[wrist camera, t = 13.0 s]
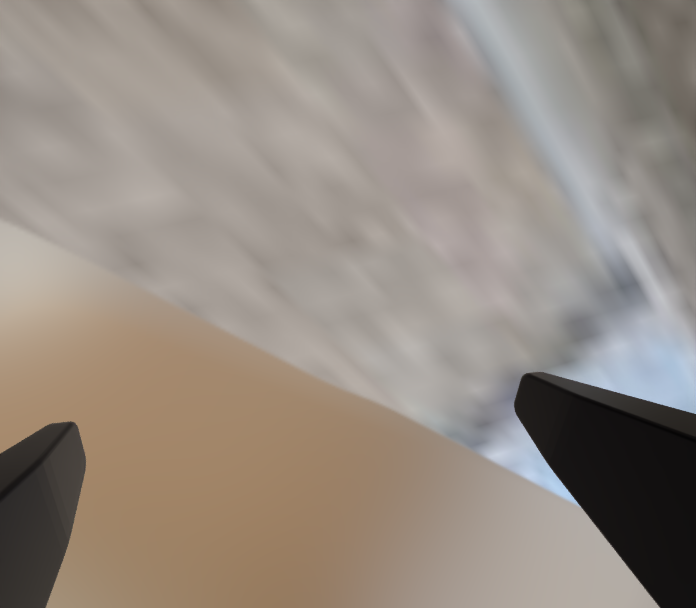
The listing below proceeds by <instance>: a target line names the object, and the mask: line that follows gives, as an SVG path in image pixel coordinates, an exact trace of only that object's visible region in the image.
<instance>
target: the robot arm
mask: <svg viewBox="0 0 696 608" xmlns="http://www.w3.org/2000/svg"><path fill="white" fill-rule="evenodd" d="M514 408H515V412H516V415H517V416H518V418H519V420H520V421H521V423H522V424H523V426H524V427H525V429H526V431H527V432H528V434H529V435H530V437H531V439H532V440H533V442H534V443H535V445H536V446H537V448H538V450H539V451H540V453H541V454H542V456H543V457H544V459H545V460H546V462H547V463H548V465H549V466H550V468H551V469H552V470H553V472H554V473H555V474H556V476H557V477H558V478H559V479H560V481H561V482H562V483H563V485H564V486H565V487H566V488H567V490H568V491H569V492H570V493H571V495H572V496H573V497H574V499H575V500H576V501H577V502H578V504H579V505H580V506H581V508H582V509H583V510H584V511H585V512H586V514H587V515H588V516H589V518H590V519H591V520H592V522H593V523H594V524H595V525H596V527H597V528H598V529H599V530H600V532H601V533H602V534H603V536H604V537H605V538H606V539H607V541H608V542H609V543H610V545H612V547H613V548H614V550H615V551H616V552H617V553H618V555H619V556H620V557H621V558H622V560H623V561H624V562H625V564H626V565H627V566H628V568H629V569H630V570H631V571H632V573H633V574H634V575H635V576H636V578H637V579H638V580H639V582H640V583H641V584H642V585H643V587H644V588H645V589H646V591H647V592H648V593H649V594H650V596H651V597H652V598H653V599H654V601H655V602H656V603H657V605H658V606H659V607H660V608H696V414H693V413H690V412H686V411H683V410H679V409H675V408H672V407H668V406H664V405H661V404H657V403H653V402H650V401H646V400H642V399H639V398H635V397H631V396H628V395H624V394H621V393H617V392H613V391H610V390H606V389H602V388H599V387H595V386H591V385H588V384H584V383H580V382H577V381H573V380H569V379H566V378H562V377H558V376H555V375H551V374H548V373H544V372H532V373H526V374H524V375H523V376H522V378H521V381H520V384H519V388H518V391H517V395H516V398H515V402H514ZM85 468H86V457H85V452H84V449H83V445H82V441H81V437H80V433H79V429H78V427H77V425H76V424H75V423H74V422H62V423H52V424H49V425H47V426H45V427H44V428H42V429H40V430H39V431H37V432H35V433H34V434H32V435H30V436H29V437H27V438H25V439H24V440H22V441H21V442H19V443H17V444H16V445H14V446H12V447H11V448H9V449H7V450H6V451H4V452H3V453H1V454H0V608H46V605H47V602H48V600H49V597H50V594H51V591H52V589H53V586H54V583H55V580H56V578H57V575H58V572H59V569H60V567H61V564H62V561H63V558H64V556H65V553H66V549H67V547H68V543H69V539H70V536H71V532H72V527H73V523H74V518H75V514H76V510H77V505H78V501H79V496H80V492H81V487H82V483H83V479H84V474H85Z"/></svg>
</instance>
